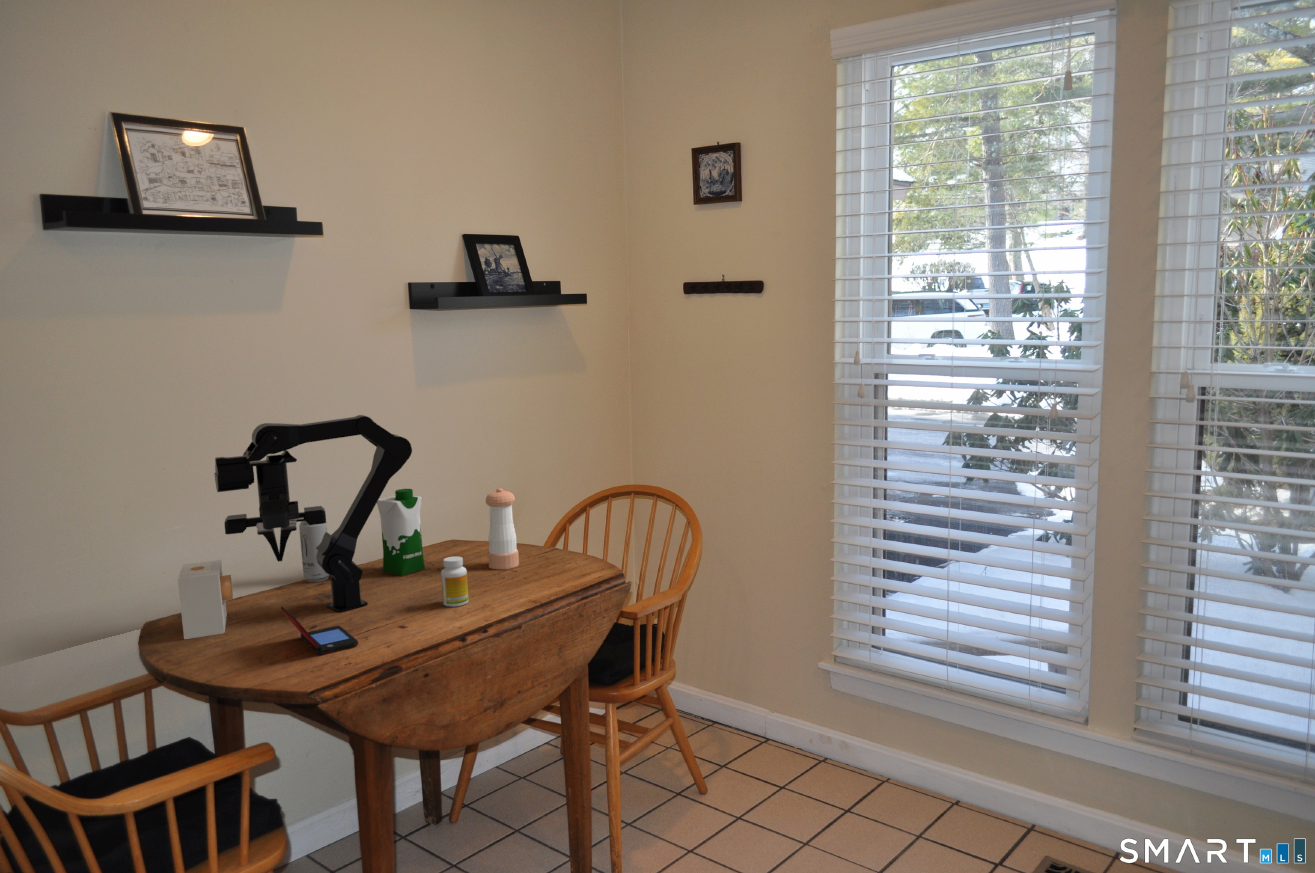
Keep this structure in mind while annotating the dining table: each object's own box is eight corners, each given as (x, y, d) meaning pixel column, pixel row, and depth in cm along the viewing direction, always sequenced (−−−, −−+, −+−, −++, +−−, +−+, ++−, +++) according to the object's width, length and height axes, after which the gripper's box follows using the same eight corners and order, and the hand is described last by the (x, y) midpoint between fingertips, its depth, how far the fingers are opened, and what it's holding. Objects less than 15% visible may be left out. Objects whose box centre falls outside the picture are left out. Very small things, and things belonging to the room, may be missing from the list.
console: (226, 615, 185) (221, 558, 184) (224, 633, 174) (218, 572, 173) (189, 621, 183) (183, 562, 181) (184, 639, 172) (177, 577, 170)
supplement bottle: (473, 602, 189) (471, 557, 187) (452, 608, 185) (449, 563, 184) (459, 597, 192) (456, 553, 191) (437, 603, 188) (434, 559, 187)
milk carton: (401, 577, 209) (395, 494, 206) (377, 572, 214) (370, 491, 212) (430, 568, 216) (425, 487, 213) (406, 563, 221) (400, 484, 219)
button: (233, 595, 182) (230, 572, 181) (232, 602, 178) (229, 578, 177) (211, 598, 181) (208, 574, 180) (209, 605, 176) (207, 581, 175)
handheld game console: (360, 647, 165) (357, 608, 164) (299, 662, 159) (296, 622, 158) (340, 629, 175) (337, 593, 174) (282, 642, 169) (279, 605, 168)
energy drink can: (299, 580, 210) (293, 518, 208) (323, 574, 214) (318, 513, 212) (311, 584, 206) (306, 521, 204) (335, 578, 210) (330, 516, 208)
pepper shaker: (516, 569, 213) (511, 490, 210) (486, 570, 213) (481, 491, 211) (521, 560, 220) (517, 485, 218) (492, 561, 220) (487, 485, 218)
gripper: (219, 497, 168) (227, 577, 170) (324, 487, 175) (330, 564, 178) (222, 488, 178) (230, 563, 180) (321, 478, 186) (327, 551, 188)
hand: (279, 560), depth 181 cm, fingers closed
